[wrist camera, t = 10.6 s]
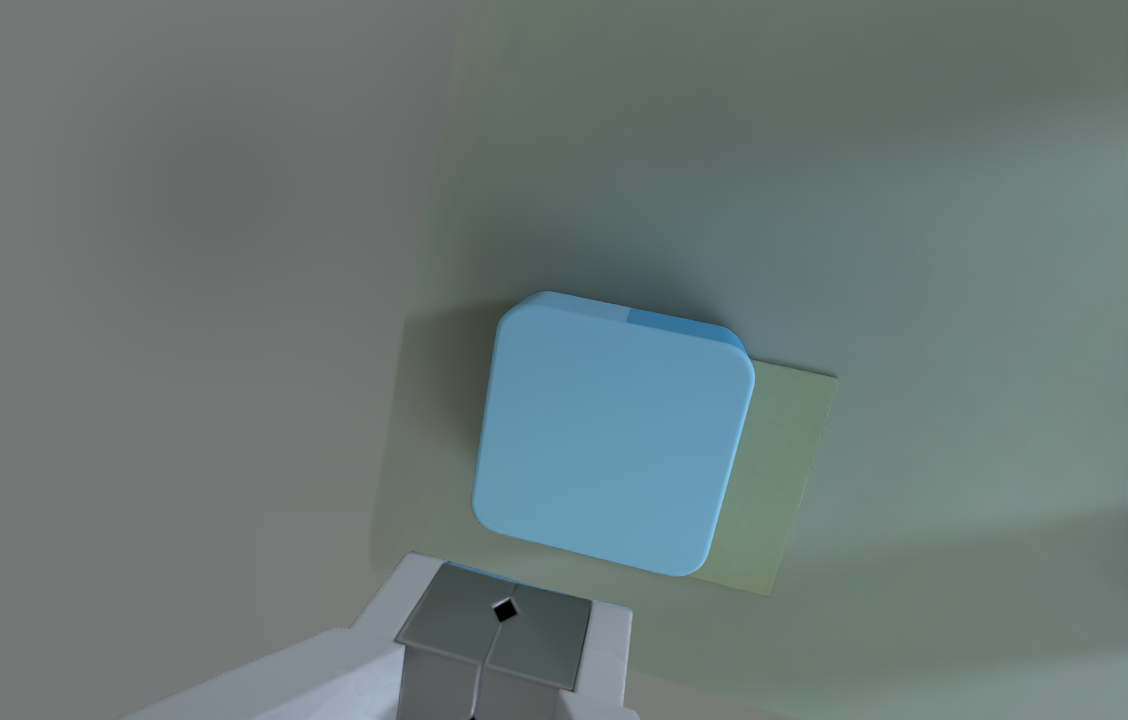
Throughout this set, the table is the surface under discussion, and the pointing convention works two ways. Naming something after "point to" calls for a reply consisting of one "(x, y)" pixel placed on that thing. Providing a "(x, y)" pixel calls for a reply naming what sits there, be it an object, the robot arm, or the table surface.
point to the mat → (767, 477)
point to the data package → (610, 431)
